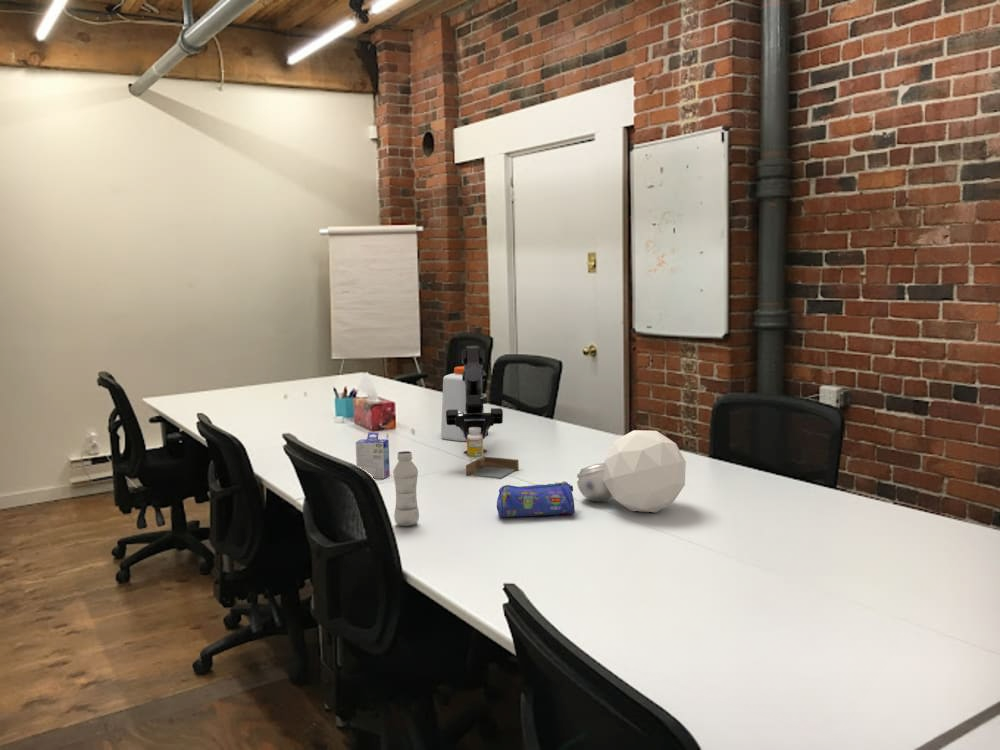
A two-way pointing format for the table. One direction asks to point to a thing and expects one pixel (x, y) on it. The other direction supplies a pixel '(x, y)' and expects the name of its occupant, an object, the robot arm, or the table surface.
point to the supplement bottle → (475, 443)
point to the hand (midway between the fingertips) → (475, 438)
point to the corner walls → (491, 464)
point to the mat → (493, 472)
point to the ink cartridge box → (373, 456)
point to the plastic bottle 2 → (453, 403)
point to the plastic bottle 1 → (405, 490)
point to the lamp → (637, 473)
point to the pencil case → (535, 500)
